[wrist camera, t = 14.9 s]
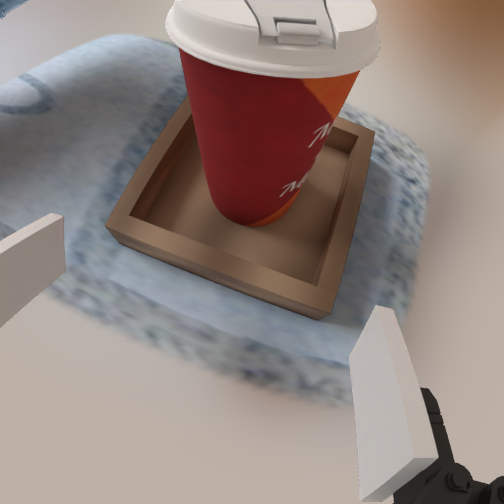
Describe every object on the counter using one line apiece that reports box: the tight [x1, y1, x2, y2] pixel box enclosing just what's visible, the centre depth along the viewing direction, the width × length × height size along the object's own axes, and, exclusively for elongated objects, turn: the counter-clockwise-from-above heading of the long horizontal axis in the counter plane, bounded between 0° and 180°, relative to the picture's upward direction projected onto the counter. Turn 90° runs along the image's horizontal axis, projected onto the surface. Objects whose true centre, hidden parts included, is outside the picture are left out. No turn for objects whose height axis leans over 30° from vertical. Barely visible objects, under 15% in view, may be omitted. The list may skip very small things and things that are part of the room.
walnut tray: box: [105, 96, 375, 320], centre depth 22 cm, size 14×14×3 cm
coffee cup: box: [166, 0, 380, 226], centre depth 15 cm, size 8×8×15 cm
